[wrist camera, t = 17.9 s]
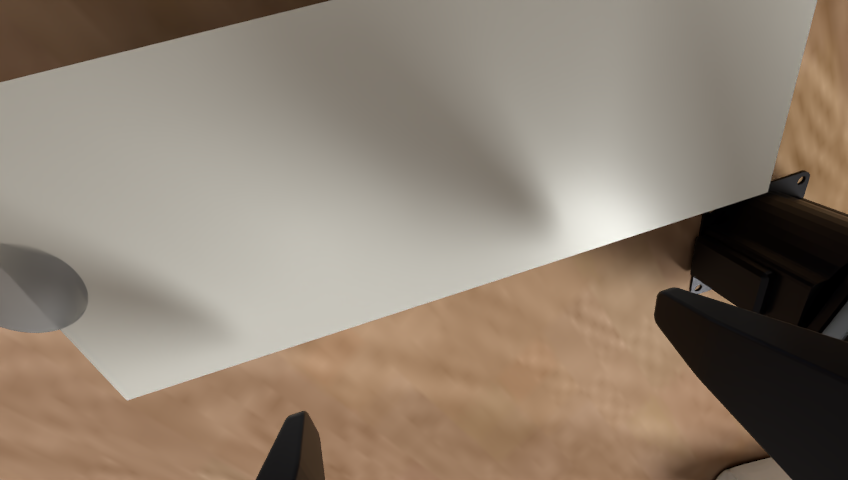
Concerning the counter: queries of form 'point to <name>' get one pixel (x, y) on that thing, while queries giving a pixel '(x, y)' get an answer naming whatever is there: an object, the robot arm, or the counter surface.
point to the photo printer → (755, 471)
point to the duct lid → (368, 164)
